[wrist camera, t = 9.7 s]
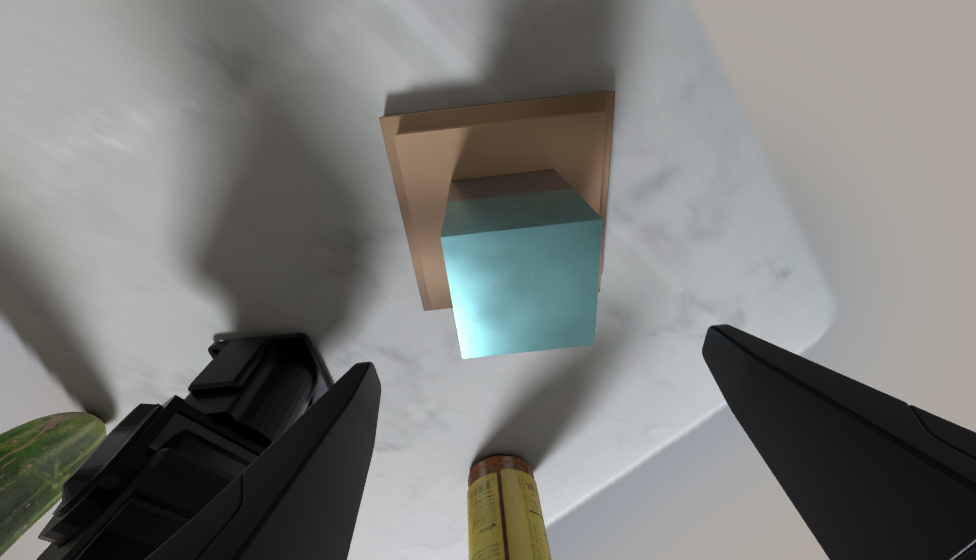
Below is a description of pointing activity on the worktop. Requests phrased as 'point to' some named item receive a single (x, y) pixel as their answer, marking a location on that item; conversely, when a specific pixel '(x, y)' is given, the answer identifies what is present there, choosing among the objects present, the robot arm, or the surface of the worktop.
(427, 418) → the worktop surface
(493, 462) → the sauce bottle
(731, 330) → the robot arm
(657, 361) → the worktop surface
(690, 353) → the worktop surface
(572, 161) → the walnut stand
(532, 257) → the teal and grey block
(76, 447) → the vegetable
